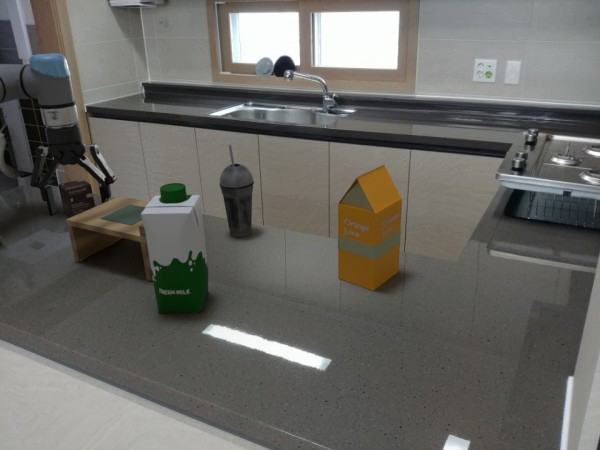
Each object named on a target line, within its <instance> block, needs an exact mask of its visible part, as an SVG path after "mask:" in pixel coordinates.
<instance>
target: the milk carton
mask: <svg viewBox="0 0 600 450" xmlns="http://www.w3.org/2000/svg"><path fill="white" fill-rule="evenodd" d="M159 193H160V195H154V196H153V197H152V198H151V200H150V201H148V202H149V203H148V204H147V205H146V206H145V209H144V210H143V212H142V213H141V217H142V220H143V224H144V228H145V233H146V240H147V246H148V252H149V259H150V265H151V271H152V277H153V281H152V283H153V288H154V289H153V290H154V294H155V300H156V305H157V310H158V311H157V312H158V313H159V314H161V313H162V314H164V313H165V314H169V313H173V314H175V313H176V314H177V313H201V312H202V308H203V307H204V303H205V301H206V297H207V295H208V292H209V267H208V266H209V265H208V257H207V247H206V238H205V237H206V236H205V229H204V220H203V212H202V204H201V195H200V194H187V188H186V184H184V183H180V182H172V183H166V184H163V185H161V186H160V187H159Z"/></svg>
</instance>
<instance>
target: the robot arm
mask: <svg viewBox="0 0 600 450" xmlns="http://www.w3.org/2000/svg"><path fill="white" fill-rule="evenodd" d="M28 59H29V63H26V64H23V63H21V64H18V63H13V64H12V63H0V104H4V103H8V102H11V101H16V100H31V99H32V100H36V99H37V101H38V106H39V109H40V114H41V119H42V123H43V125H44V126H46V127H45V128H44V132H45V137H46V141H47V144H48V146H44V145H39V146H38V147H36V148H35V149H34V153H35V162H34V165H33V170H32V174H31V178H30V183H29V186H30V187H31V188H38V189H39V191H40V192H39V193H40V195H41V200H42V201H43V202H46V205H47V208H48V209H47V210H48V214H49V216H54V215H55V213H56V212H57V211H58V210H57V205H56V200H55V196H54V195H55V194H54V191H53V187H52V185H49V183H50V182H51V180H52V178H53V176H54V174H55V173H56V171H57V169H58V168H59V166H60V165H61V166H67V165H71V166H76V165H77V166H79V167H81V168H83V169H84V170H85V171H86V172H87V173H88V174H89V175H90V176H91V177H92V178H93V179H95V180H96V181H97V182H98V184H100V186H99V187H98V189H99V194H100V195H99V196H100V199H101V204H103V203H105V202H107V201H110V199H111V197H112V190H111V185H113V184H114V183H115V182H116V181H117V180H118V178H117V176H116V174H115V172H114V171H113V169H112V168H111V167H110V165H109V164H108V162H107V161H106V159H105V158H104V156H103V155H102V153H101V151H100V147H99V145H98V144H97V143H93V144H90V145H85V143H84V139H83V133H82V129H81V125H80V124H79V122H80V119H79V118H80V117H79V114H78V109H77V104H76V100H75V95H74V90H73V84H72V78H71V77H72V75H71V72H70V68H69V66H68V61H67V57H66V56H65V55H64V54H62V53H58V52H57V53H56V52H55V53H53V52H52V53H39V54H32V55H30V56H29V58H28ZM86 152H87V153H88V155H90V156H91V157H92V159H93V161H94V162H95V164H96V165H97V166H98V168H97V167H96V166H95V164H93V163H92V162H91V161H90V159H89V158H88V157H87V156H86V155H85V153H86ZM48 154H49V155H50V157H52V161H51V162H50V163H49V164H50V165H49V167H48V169H47V170H46V172H45V174H44V175H43V177H42V173H43V169H44V165H45V162H46V161H45V160H46V156H47V155H48ZM41 177H42V179H41Z"/></svg>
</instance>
